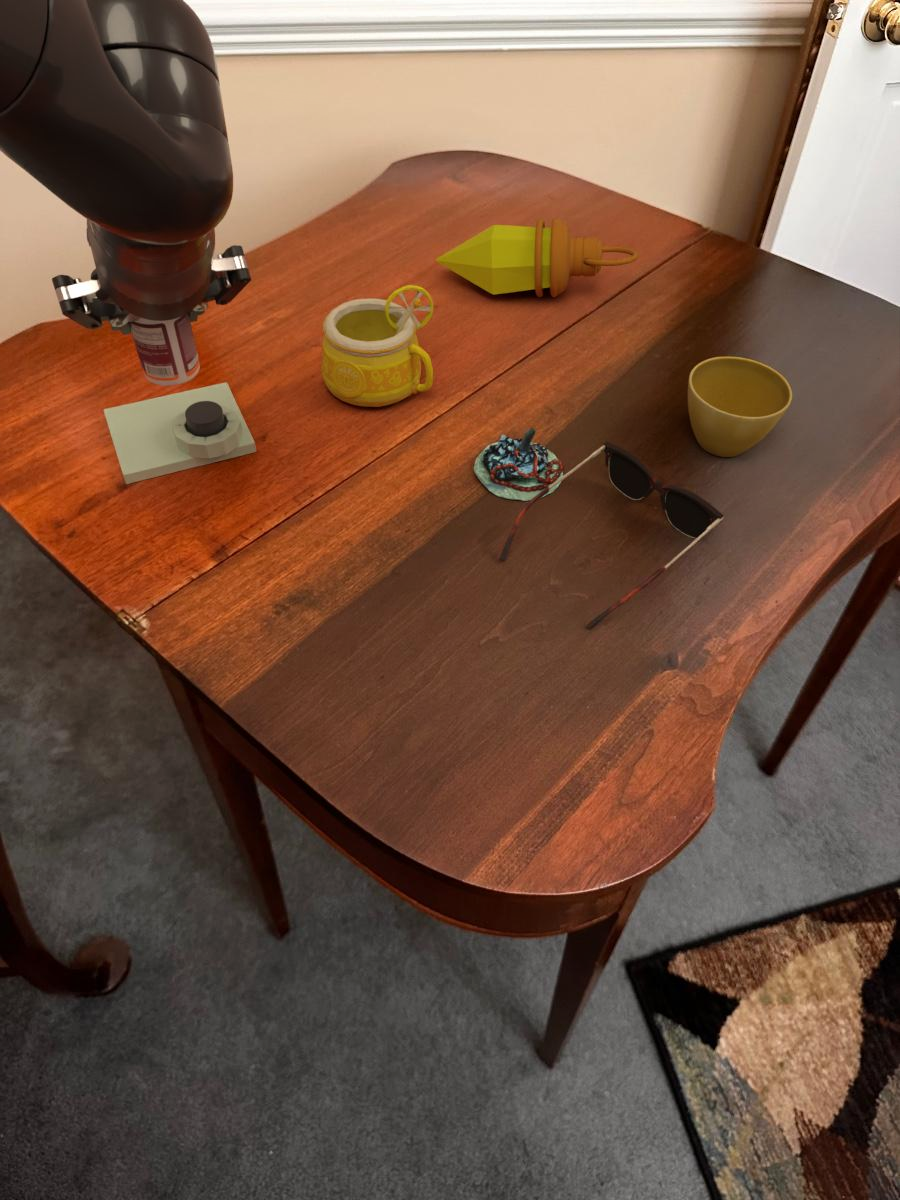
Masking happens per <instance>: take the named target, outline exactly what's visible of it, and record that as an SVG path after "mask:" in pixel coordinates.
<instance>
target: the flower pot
mask: <svg viewBox="0 0 900 1200" xmlns="http://www.w3.org/2000/svg"><path fill="white" fill-rule="evenodd" d="M792 399H793V391H792V388H791V385H790V384H789V382H788V380H787V379H786V378H785V377H784V376H783V375H782V374H781V373H780V372H778V371H777V370H776V369H774V368H772V367H770V366H769V365H767V364H765V363H761V362H760V361H757V360H754V359H750V358H745V357H740V356H715V357H710V358H708V359H705V360H702V361H701V362H699V363H697V364H696V365H694V367H693V368H692V369H691V371H690V373H689V376H688V384H687V409H688V415H689V420H690V425H691V428H692V432H693V434H694V437H695V439H696V441H697V443H698V445H699V446H700V447H701V449H703V450H704V451H705V452H707V453H709V454H711V455H714V456H717V457H721V458H732V457H736V456H739V455H741V454H743V453H745V452H746V451H748V450H749V449H751V448H752V447H754V446H755V445H757V444H758V443H759V442H760V441H762V440H763V439H764V438H765V437H766V436H767V435H768V434H769V433H770V432H771V431H772V430H773V429H774V427H775V426H777V424H778V423H779V421H780V420H781V418H782V417H783V416H784V414H785V412H786V411H787V409H788V408H789V406H790V405H791V402H792V401H793V400H792Z"/></svg>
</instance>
